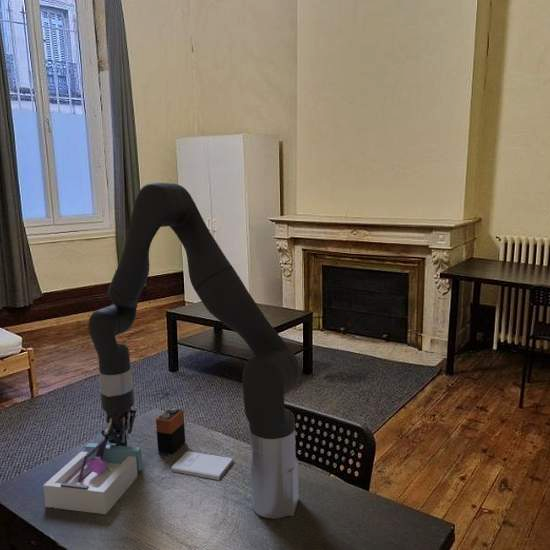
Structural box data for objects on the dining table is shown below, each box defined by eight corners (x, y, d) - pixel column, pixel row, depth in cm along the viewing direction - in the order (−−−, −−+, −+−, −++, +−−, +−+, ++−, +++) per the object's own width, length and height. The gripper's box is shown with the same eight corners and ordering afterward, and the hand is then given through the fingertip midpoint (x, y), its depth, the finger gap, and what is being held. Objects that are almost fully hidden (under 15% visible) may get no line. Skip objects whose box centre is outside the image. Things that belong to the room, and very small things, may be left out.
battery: (186, 442, 135) (184, 406, 133) (172, 455, 129) (169, 417, 127) (171, 439, 137) (169, 404, 135) (157, 452, 131) (154, 415, 129)
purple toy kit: (104, 435, 122) (81, 455, 113) (123, 444, 121) (102, 464, 113) (97, 459, 124) (75, 480, 115) (117, 468, 123) (95, 490, 114)
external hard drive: (219, 482, 118) (171, 473, 122) (233, 464, 126) (188, 455, 130) (218, 476, 118) (170, 466, 122) (233, 457, 125) (187, 449, 129)
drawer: (142, 468, 123) (140, 447, 122) (111, 504, 109) (109, 481, 108) (90, 462, 126) (88, 442, 125) (54, 497, 112) (51, 475, 111)
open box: (137, 476, 120) (135, 455, 119) (105, 514, 107) (103, 490, 106) (83, 470, 123) (81, 449, 122) (45, 506, 110) (42, 483, 109)
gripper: (116, 376, 131) (121, 440, 134) (86, 398, 118) (93, 467, 121) (143, 378, 129) (148, 442, 132) (116, 400, 117) (122, 471, 120)
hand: (122, 454), depth 127 cm, fingers closed
